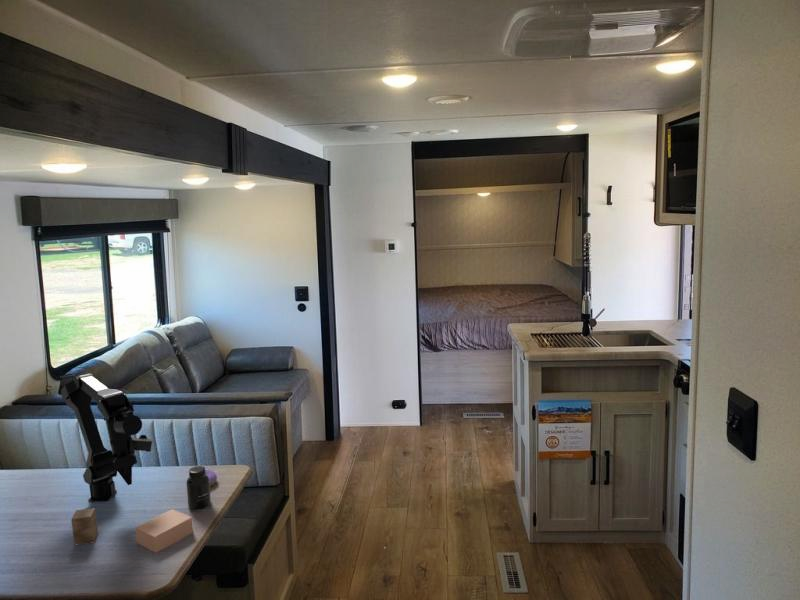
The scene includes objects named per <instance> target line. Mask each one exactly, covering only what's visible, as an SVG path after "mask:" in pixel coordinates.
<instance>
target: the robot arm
mask: <svg viewBox="0 0 800 600" xmlns="http://www.w3.org/2000/svg"><path fill="white" fill-rule="evenodd" d="M60 392H61V393H60V394H61V399H63V400H64V401H65V404H66V406H67V407H68V408H70V409H71V410H72V411H74V413H75V417H76V419H77V422H78V425H79V428H80V432H81V434H82V437H83V441H84V445H85V447H86V450H87V453H88V454H87V458H86V461H85V466H86V469H85V471H84V472H83V475H82V477H83V482H84V483H86V484H87V485H88V486H89V493H90V497H89V498H88V499H87V500H88V502H109V500H111V498H112V497H113V496H115V494H116V493H117V492H118V490H116V483H115V481H114V477H117V476H118V474H119V475H120V476H121V478H122V479H123V481H124V482H125V483H126V484H127V486H130V485H132V482H133V481H132V480H133V467H134V465H136V464H138V460H137V455H136V454H135V453H136V451H138V452H139V451H141V452H143V451H144V452H146V453H147V452H149V453H150V452H151V451H152V446H153V439H152V438H148V437H147V434H140V435H139V437H136V438H135V437H132V436H135V435H137V434H139V433H140V431H141V430H142V427H143V420H142V419H141V417H139V416H138V415H135V414H134V412H135V409H134V405H133V403H132V402H131V401H130V399H129V397H127V395H126V394H125V393H124V392H123V391H121V390H119V389H116V388H115V389H114V388H108V387H107V386H106V385H105V384H104V383H102V382H100V381H99V379H97V378H95V376H94V374H93V373H85V374H81V375H77V376H75V377H74V378H73V379H72V380H70V381H69V382H67V383H66V384H64V386H62V389H61V390H60ZM92 400H94V401H95V402H96V403H97V404H96V405H97V407H96V408H97V410H98V411H99V412H100V414H102V415H103V421H105V424H106V428H107V434H108V438H109V444H110V448H111V449H107V448H105V446H104V443H103V440H102V436H101V435H100V430H99V427H98V425H97V422H96V418H95V416H94V413H93V410H92V407H91V403H92Z"/></svg>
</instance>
